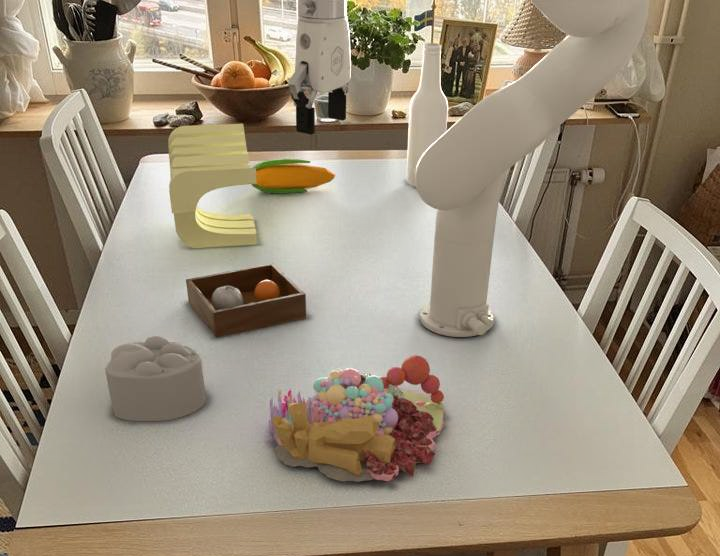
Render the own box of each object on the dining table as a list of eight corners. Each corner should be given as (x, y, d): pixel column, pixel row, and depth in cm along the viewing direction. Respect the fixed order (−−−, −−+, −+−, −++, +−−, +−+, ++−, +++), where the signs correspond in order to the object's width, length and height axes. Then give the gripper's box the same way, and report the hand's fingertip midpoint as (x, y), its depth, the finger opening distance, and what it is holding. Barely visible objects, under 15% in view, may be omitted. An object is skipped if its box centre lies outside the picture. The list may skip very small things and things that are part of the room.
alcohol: (403, 177, 206) (409, 40, 188) (439, 176, 207) (448, 40, 189) (409, 189, 200) (415, 48, 181) (445, 188, 200) (456, 48, 182)
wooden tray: (306, 318, 146) (305, 293, 143) (215, 337, 140) (213, 312, 137) (274, 286, 156) (273, 262, 154) (188, 303, 150) (185, 279, 147)
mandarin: (284, 307, 149) (283, 283, 146) (260, 312, 147) (259, 288, 144) (274, 297, 152) (273, 274, 149) (251, 301, 150) (249, 278, 148)
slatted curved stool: (176, 211, 186) (166, 126, 175) (249, 207, 189) (243, 123, 178) (178, 266, 163) (166, 172, 152) (261, 260, 165) (255, 167, 154)
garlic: (250, 315, 146) (248, 287, 143) (222, 323, 144) (219, 294, 140) (234, 302, 150) (232, 274, 147) (206, 309, 148) (203, 281, 144)
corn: (246, 153, 195) (333, 151, 197) (249, 186, 200) (333, 183, 202) (247, 165, 189) (336, 163, 191) (249, 199, 194) (336, 196, 196)
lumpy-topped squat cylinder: (123, 383, 128) (113, 332, 123) (209, 382, 129) (203, 331, 123) (109, 421, 120) (98, 368, 115) (202, 420, 120) (195, 367, 115)
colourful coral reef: (430, 498, 107) (435, 437, 101) (250, 476, 110) (245, 417, 104) (449, 395, 126) (454, 340, 121) (295, 379, 130) (293, 325, 124)
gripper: (312, 19, 121) (312, 142, 132) (371, 3, 133) (367, 117, 144) (268, 13, 124) (272, 134, 135) (330, -3, 136) (329, 110, 147)
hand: (321, 125), depth 139 cm, fingers open, 9 cm apart
